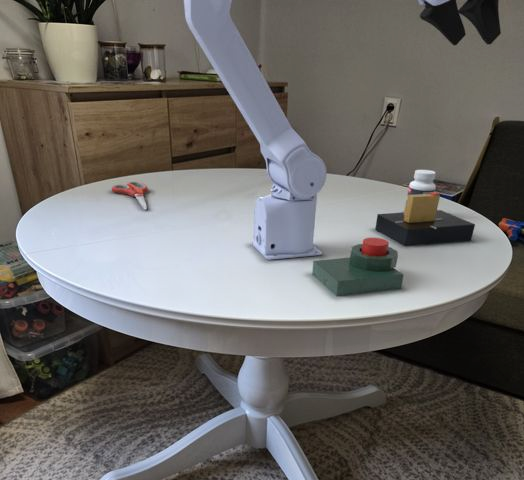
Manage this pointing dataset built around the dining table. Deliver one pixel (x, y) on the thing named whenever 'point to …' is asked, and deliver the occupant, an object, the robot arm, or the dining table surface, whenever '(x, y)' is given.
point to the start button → (375, 247)
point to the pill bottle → (422, 183)
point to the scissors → (133, 191)
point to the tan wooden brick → (421, 207)
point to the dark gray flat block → (425, 229)
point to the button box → (359, 273)
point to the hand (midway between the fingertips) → (476, 39)
